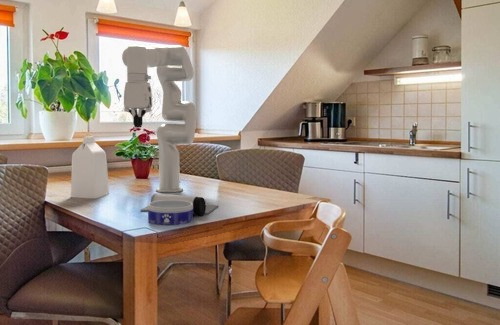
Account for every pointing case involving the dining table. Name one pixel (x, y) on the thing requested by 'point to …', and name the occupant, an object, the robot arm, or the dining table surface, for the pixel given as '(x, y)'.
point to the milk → (89, 170)
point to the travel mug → (198, 202)
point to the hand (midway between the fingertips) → (138, 127)
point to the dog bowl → (170, 212)
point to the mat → (208, 210)
